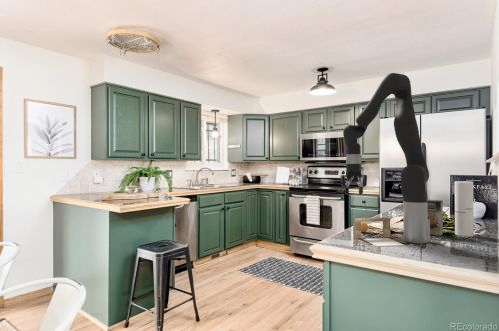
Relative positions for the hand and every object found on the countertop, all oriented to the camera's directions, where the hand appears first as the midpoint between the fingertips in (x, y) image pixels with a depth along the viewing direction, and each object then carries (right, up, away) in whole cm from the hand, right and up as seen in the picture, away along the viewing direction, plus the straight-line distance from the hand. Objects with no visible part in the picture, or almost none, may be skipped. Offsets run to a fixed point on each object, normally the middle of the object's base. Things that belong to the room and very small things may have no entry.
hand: (353, 194), depth 159 cm
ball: (+1, -15, -9) cm, 18 cm away
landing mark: (+2, -18, -29) cm, 34 cm away
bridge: (+1, -18, -21) cm, 27 cm away
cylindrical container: (+46, -18, -17) cm, 52 cm away
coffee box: (+33, -18, -13) cm, 40 cm away
